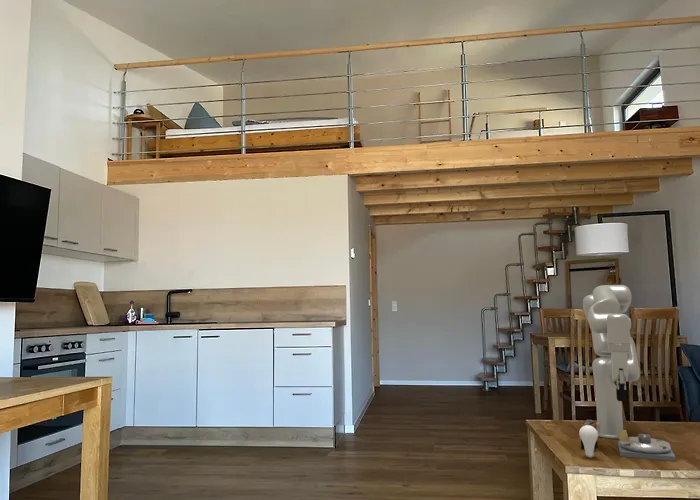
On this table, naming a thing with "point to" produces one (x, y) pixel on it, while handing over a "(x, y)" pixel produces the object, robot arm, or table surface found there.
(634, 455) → the base plate
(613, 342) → the robot arm
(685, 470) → the table surface
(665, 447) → the round tabbed tray
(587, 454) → the lightbulb
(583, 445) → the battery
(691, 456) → the table surface
